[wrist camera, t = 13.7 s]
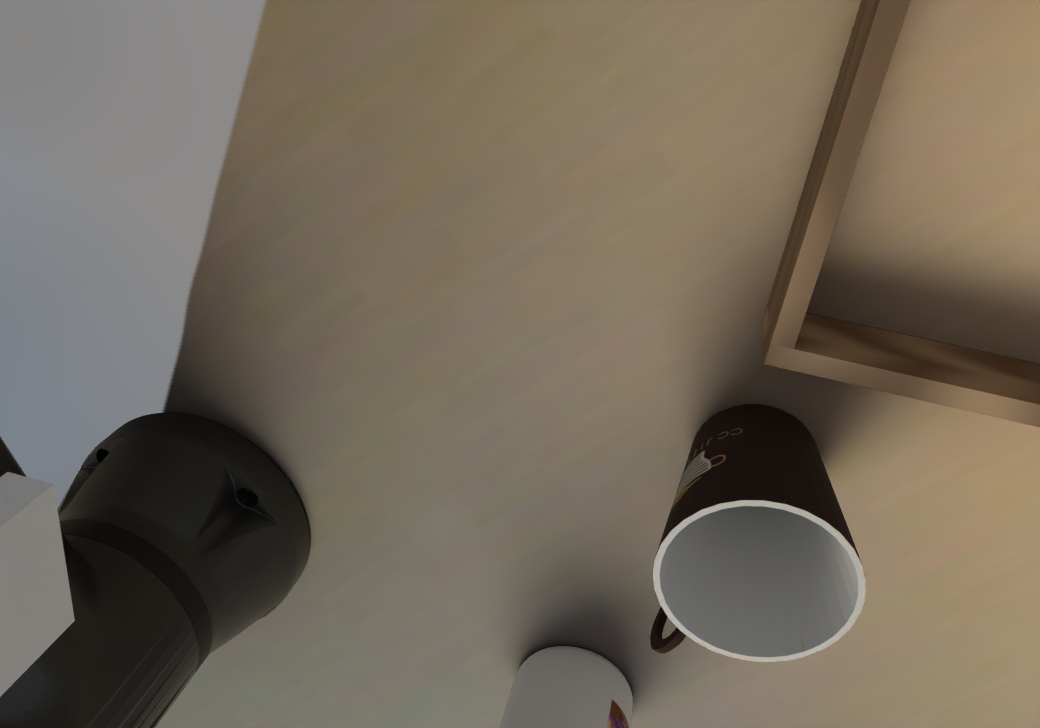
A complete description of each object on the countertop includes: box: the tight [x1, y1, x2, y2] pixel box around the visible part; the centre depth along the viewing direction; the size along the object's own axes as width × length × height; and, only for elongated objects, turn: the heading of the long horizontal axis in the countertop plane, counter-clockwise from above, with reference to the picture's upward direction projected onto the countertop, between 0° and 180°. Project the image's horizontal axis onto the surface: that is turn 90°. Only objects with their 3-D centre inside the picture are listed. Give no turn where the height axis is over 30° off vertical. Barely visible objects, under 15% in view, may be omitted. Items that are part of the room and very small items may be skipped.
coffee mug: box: [650, 404, 866, 662], centre depth 40 cm, size 12×9×10 cm
